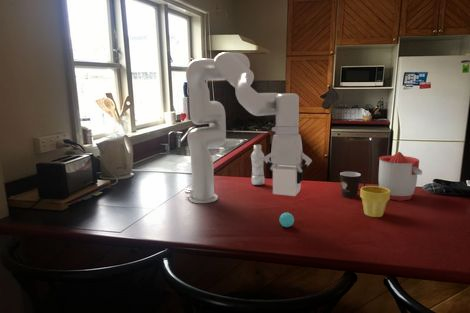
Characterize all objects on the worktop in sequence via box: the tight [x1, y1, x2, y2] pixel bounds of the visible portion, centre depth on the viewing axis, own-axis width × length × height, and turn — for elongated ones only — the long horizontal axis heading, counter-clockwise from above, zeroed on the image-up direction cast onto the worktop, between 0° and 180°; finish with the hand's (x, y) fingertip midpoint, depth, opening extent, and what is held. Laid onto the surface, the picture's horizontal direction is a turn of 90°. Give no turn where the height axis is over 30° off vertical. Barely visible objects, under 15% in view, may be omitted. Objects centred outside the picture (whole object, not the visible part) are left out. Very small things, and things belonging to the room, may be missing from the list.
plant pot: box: [359, 185, 390, 218], centre depth 135 cm, size 10×10×10 cm
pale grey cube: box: [272, 165, 302, 197], centre depth 123 cm, size 8×8×9 cm
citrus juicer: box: [378, 151, 423, 202], centre depth 153 cm, size 16×17×20 cm
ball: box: [279, 212, 295, 228], centre depth 125 cm, size 5×5×5 cm
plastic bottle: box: [250, 144, 266, 186], centre depth 177 cm, size 6×7×20 cm
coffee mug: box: [339, 171, 366, 199], centre depth 156 cm, size 12×9×10 cm
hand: (286, 181), depth 123 cm, fingers closed on pale grey cube, 7 cm apart
